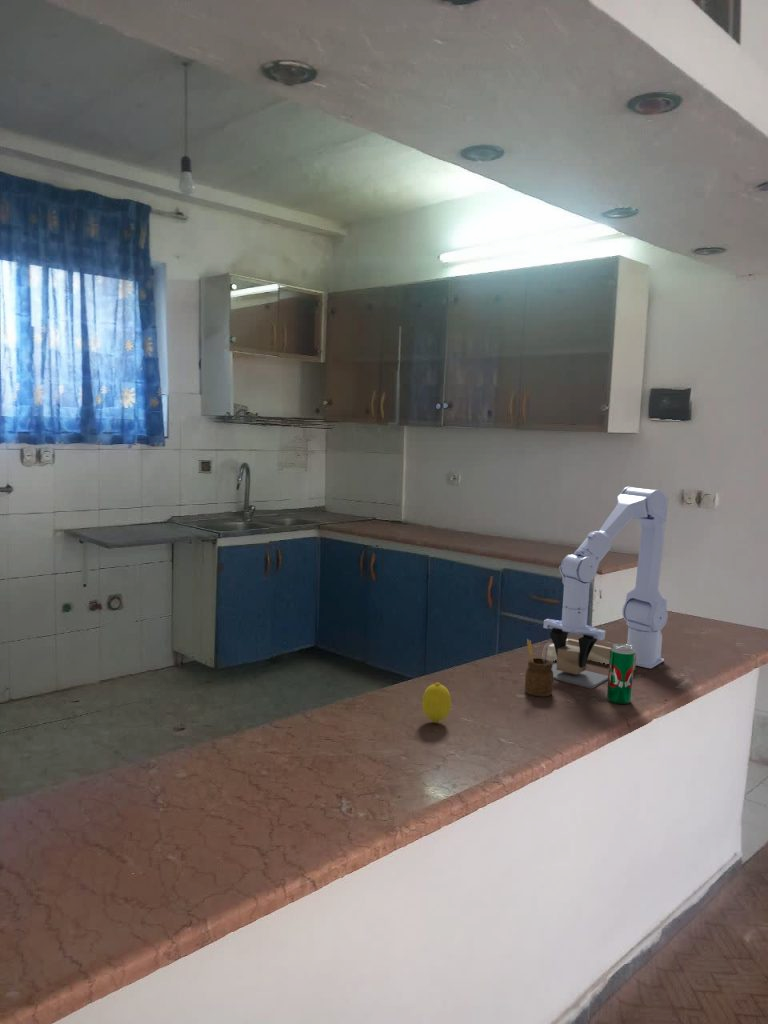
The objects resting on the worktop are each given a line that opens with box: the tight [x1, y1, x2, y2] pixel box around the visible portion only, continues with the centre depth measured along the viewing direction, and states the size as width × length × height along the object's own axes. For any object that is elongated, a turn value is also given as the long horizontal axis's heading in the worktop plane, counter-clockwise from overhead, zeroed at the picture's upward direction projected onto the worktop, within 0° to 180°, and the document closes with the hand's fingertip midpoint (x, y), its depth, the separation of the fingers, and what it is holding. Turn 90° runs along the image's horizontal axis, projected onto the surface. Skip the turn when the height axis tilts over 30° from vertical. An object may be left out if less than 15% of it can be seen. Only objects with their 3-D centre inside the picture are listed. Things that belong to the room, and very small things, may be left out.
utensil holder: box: [524, 638, 554, 698], centre depth 169 cm, size 6×6×12 cm
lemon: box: [421, 682, 452, 724], centre depth 149 cm, size 6×6×8 cm
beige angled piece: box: [546, 637, 637, 671], centre depth 190 cm, size 10×18×4 cm, turn 51°
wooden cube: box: [556, 645, 587, 675], centre depth 181 cm, size 5×5×5 cm
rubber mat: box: [551, 662, 608, 690], centre depth 182 cm, size 10×15×1 cm, turn 51°
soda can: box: [606, 643, 635, 705], centre depth 165 cm, size 5×5×12 cm
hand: (571, 663), depth 181 cm, fingers closed on wooden cube, 5 cm apart
